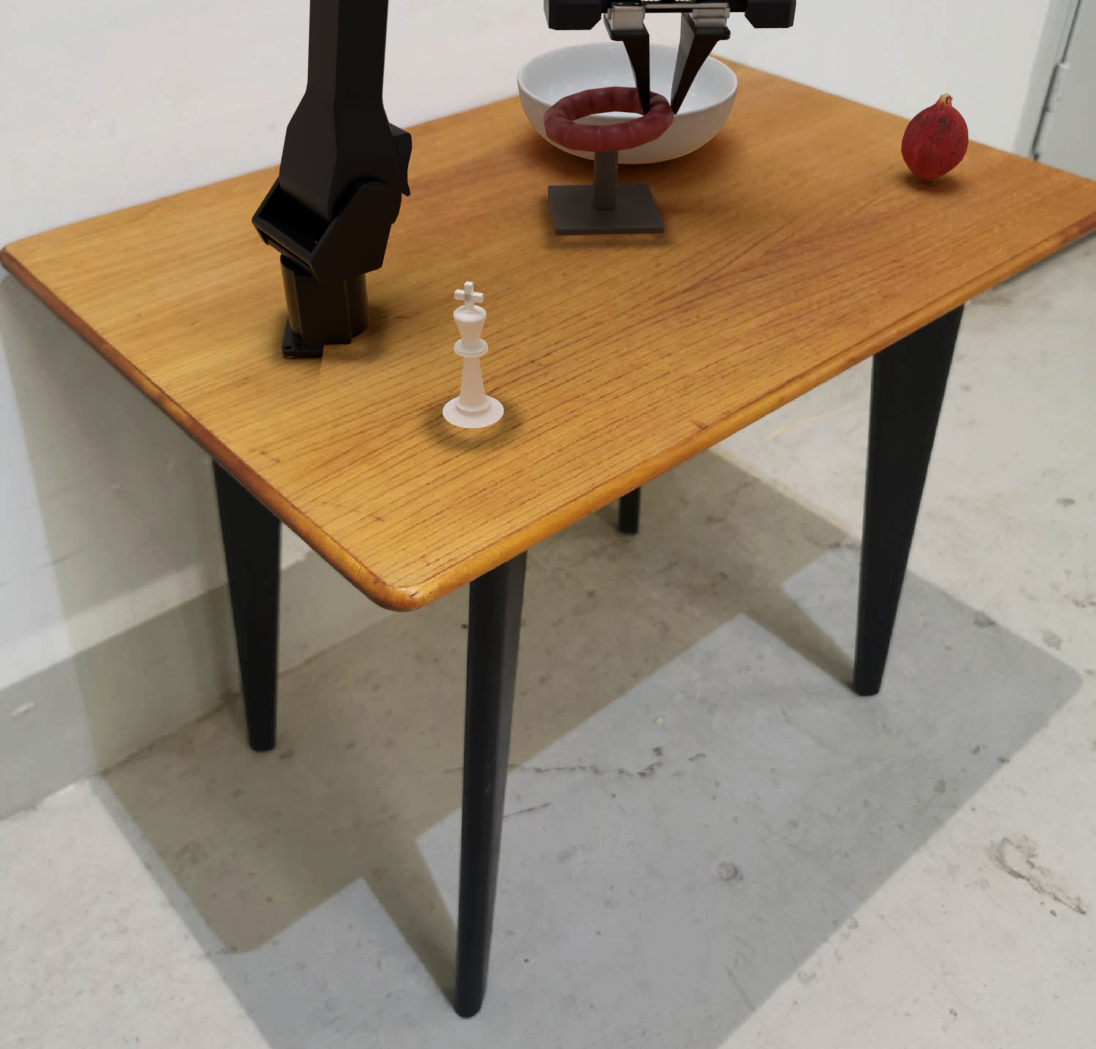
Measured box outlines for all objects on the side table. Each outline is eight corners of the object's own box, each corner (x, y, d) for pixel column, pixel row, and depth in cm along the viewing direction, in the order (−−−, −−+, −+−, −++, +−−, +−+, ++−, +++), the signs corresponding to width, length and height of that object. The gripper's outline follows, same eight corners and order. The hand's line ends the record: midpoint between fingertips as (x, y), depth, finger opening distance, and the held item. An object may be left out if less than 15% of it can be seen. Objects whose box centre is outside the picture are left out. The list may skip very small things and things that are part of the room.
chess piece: (451, 396, 76) (444, 259, 69) (521, 409, 74) (520, 271, 68) (424, 437, 72) (414, 296, 66) (497, 450, 71) (494, 308, 64)
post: (663, 243, 94) (669, 168, 90) (555, 246, 93) (557, 170, 89) (647, 199, 101) (652, 127, 97) (547, 201, 100) (548, 128, 96)
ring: (682, 146, 88) (682, 121, 87) (550, 162, 88) (548, 137, 87) (661, 101, 96) (661, 77, 95) (540, 115, 96) (538, 92, 95)
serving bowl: (474, 142, 111) (471, 70, 106) (623, 95, 122) (627, 28, 117) (623, 209, 99) (628, 132, 95) (774, 151, 110) (784, 79, 106)
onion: (955, 198, 102) (978, 109, 97) (890, 189, 103) (909, 101, 98) (959, 174, 106) (981, 88, 101) (896, 166, 107) (915, 80, 102)
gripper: (775, -124, 88) (750, 79, 98) (539, -124, 87) (537, 82, 97) (812, -95, 80) (780, 125, 90) (550, -94, 78) (547, 128, 88)
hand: (659, 113), depth 91 cm, fingers closed on ring, 2 cm apart
